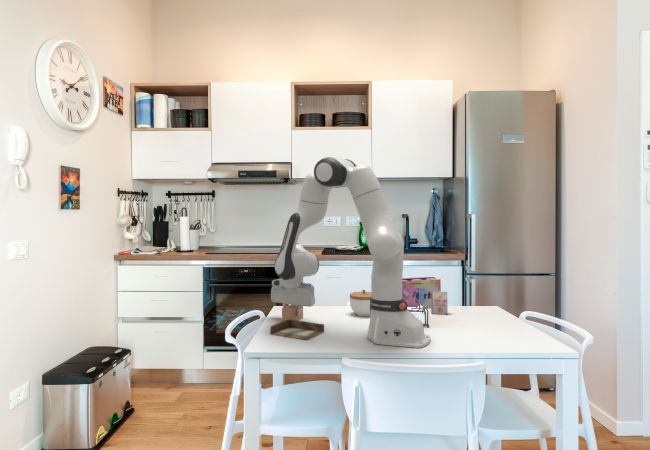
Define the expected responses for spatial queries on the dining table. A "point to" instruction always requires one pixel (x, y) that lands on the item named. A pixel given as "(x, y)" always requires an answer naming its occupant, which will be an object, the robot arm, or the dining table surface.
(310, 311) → the dining table surface
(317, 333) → the brown wooden flat frame
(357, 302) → the lidded bowl
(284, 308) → the terracotta block
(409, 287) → the gum box
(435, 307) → the small beige carton
